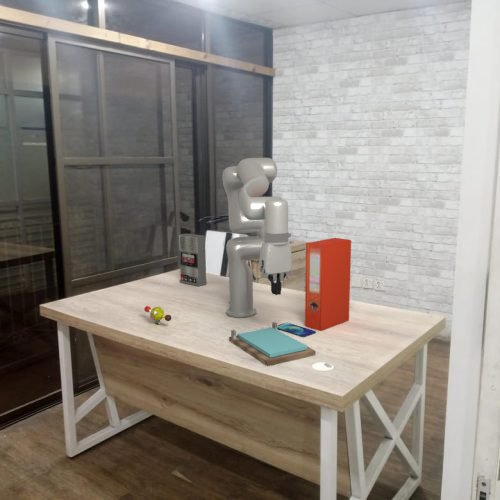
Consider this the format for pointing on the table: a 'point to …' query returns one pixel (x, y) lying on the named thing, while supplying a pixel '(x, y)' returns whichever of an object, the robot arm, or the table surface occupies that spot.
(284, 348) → the plate
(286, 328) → the smartphone
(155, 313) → the molecule model
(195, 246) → the cassette tape recorder
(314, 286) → the file binder
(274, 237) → the robot arm
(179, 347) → the table surface
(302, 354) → the press base
